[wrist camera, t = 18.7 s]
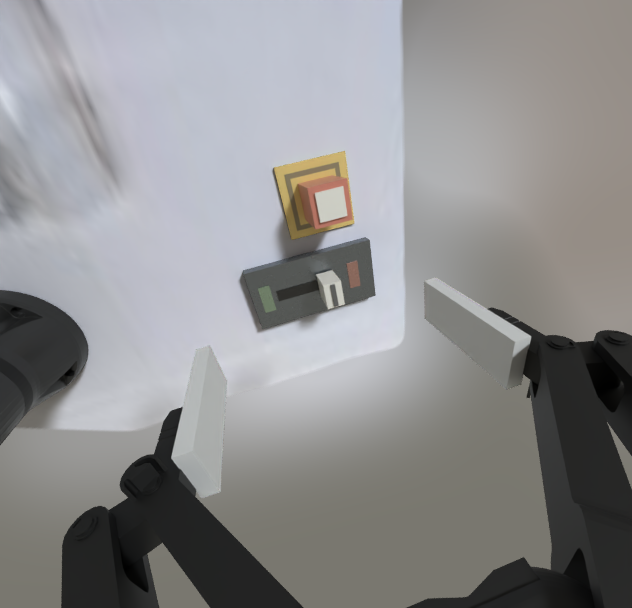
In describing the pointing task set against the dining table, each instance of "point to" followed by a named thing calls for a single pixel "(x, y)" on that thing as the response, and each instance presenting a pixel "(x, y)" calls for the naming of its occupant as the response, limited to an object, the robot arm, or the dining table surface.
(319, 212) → the cap
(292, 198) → the pad
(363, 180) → the dining table surface
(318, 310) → the breaker panel
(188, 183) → the dining table surface
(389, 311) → the dining table surface
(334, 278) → the switch
